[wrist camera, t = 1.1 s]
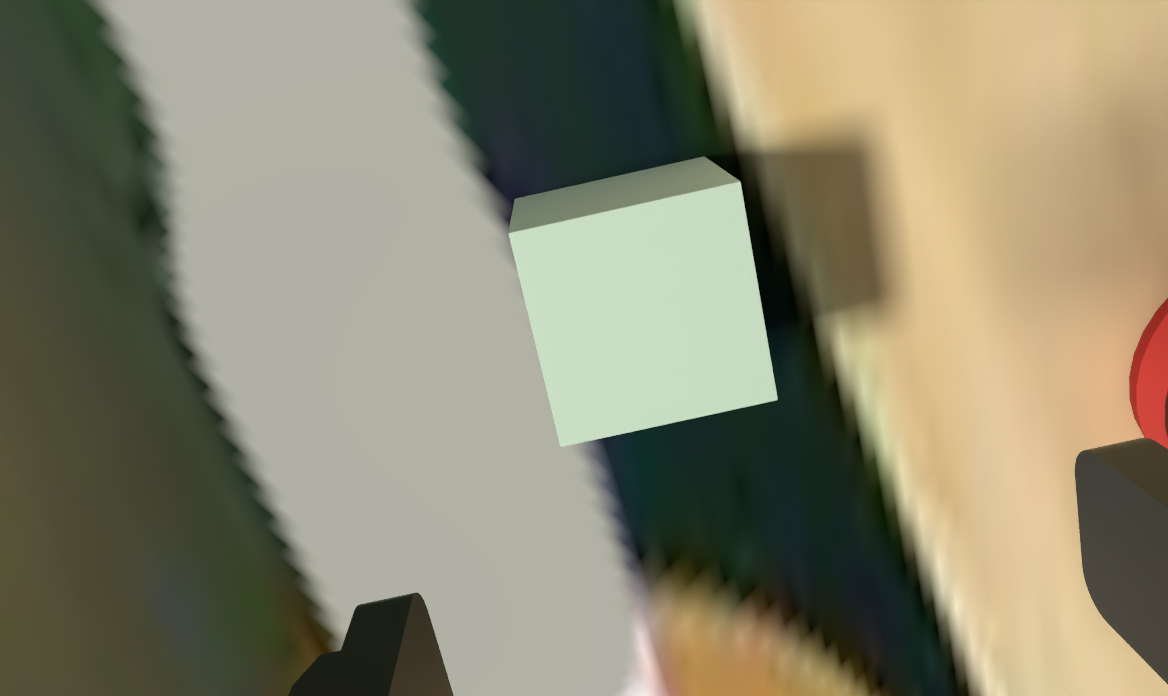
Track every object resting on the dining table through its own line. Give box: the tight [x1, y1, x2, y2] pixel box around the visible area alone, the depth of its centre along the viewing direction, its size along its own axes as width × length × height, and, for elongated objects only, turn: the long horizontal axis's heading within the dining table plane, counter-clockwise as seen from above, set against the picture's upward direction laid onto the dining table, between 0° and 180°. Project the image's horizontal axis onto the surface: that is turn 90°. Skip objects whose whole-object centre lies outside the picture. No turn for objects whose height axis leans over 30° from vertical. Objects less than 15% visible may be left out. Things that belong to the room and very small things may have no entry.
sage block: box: [509, 157, 778, 447], centre depth 27 cm, size 6×6×6 cm
